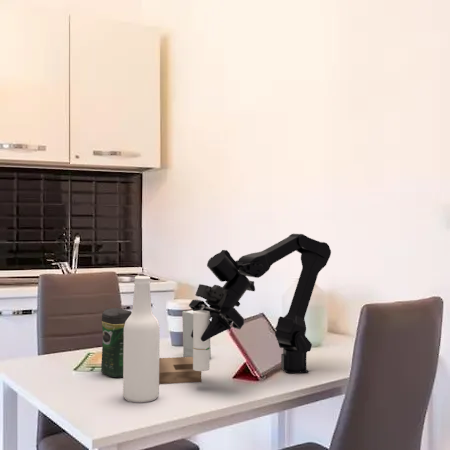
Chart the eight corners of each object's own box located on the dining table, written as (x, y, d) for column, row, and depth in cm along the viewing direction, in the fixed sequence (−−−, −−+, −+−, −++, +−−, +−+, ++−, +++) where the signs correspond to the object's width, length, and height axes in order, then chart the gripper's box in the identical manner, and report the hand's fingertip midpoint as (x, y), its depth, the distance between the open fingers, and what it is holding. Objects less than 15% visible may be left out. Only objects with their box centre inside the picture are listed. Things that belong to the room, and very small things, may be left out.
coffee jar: (138, 375, 165) (139, 309, 165) (113, 379, 160) (114, 312, 160) (121, 368, 173) (121, 305, 172) (96, 372, 168) (97, 307, 167)
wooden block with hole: (192, 366, 175) (192, 356, 175) (201, 381, 159) (201, 370, 159) (145, 368, 172) (145, 358, 172) (149, 384, 156) (149, 373, 156)
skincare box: (211, 359, 185) (211, 312, 184) (194, 361, 181) (195, 313, 181) (197, 353, 192) (198, 308, 191) (181, 356, 188) (181, 310, 188)
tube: (196, 371, 150) (197, 313, 150) (190, 367, 154) (190, 311, 154) (212, 370, 152) (212, 312, 152) (205, 366, 156) (205, 309, 156)
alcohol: (128, 405, 139) (129, 278, 139) (119, 394, 147) (120, 275, 147) (163, 400, 143) (164, 277, 142) (153, 390, 151) (154, 274, 150)
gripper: (194, 270, 162) (159, 313, 156) (235, 276, 147) (198, 325, 141) (218, 296, 167) (185, 339, 161) (259, 304, 152) (224, 353, 146)
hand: (196, 338), depth 152 cm, fingers closed on tube, 4 cm apart
